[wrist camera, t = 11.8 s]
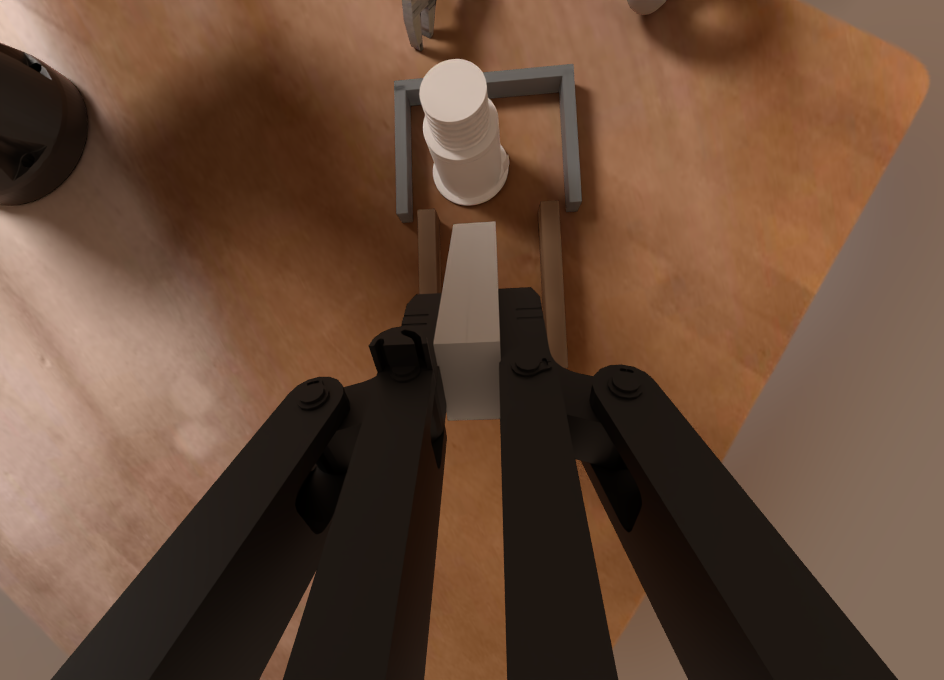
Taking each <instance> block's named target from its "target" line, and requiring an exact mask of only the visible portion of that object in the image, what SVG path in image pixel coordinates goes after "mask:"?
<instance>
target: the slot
mask: <svg viewBox="0 0 944 680" xmlns="http://www.w3.org/2000/svg"><path fill="white" fill-rule="evenodd" d="M538 225H539V244H540V264H541V284H542V304H543V319H544V322H545V327H546V333H547V338H548V344H549V349H550V353H551V355H552V357H553V358H554V360H555V361H556V362H557V363H558V364H559V365H560V366H562V367H563V368H568V357H567V339H566V321H565V303H564V285H563V268H562V250H561V232H560V214H559V200H555V201H541V202H540V207H539V211H538ZM418 255H419V294H432V293H441V255H440V220H439V218H438V215H437V213H436V210H435V209H423V210H418Z"/></svg>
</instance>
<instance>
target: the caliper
mask: <svg viewBox="0 0 944 680" xmlns="http://www.w3.org/2000/svg"><path fill="white" fill-rule="evenodd" d="M402 5H403V16H404V22H405V26H406V30H407V33H408V37H409V41H410V44H411V46H412V47H414V48H416V49H418V50H420V51H422V50H423V43H422V35H424V36H426V37H428V38H431V37H432V35H433V29H434V18H435V7H436V0H402Z"/></svg>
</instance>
